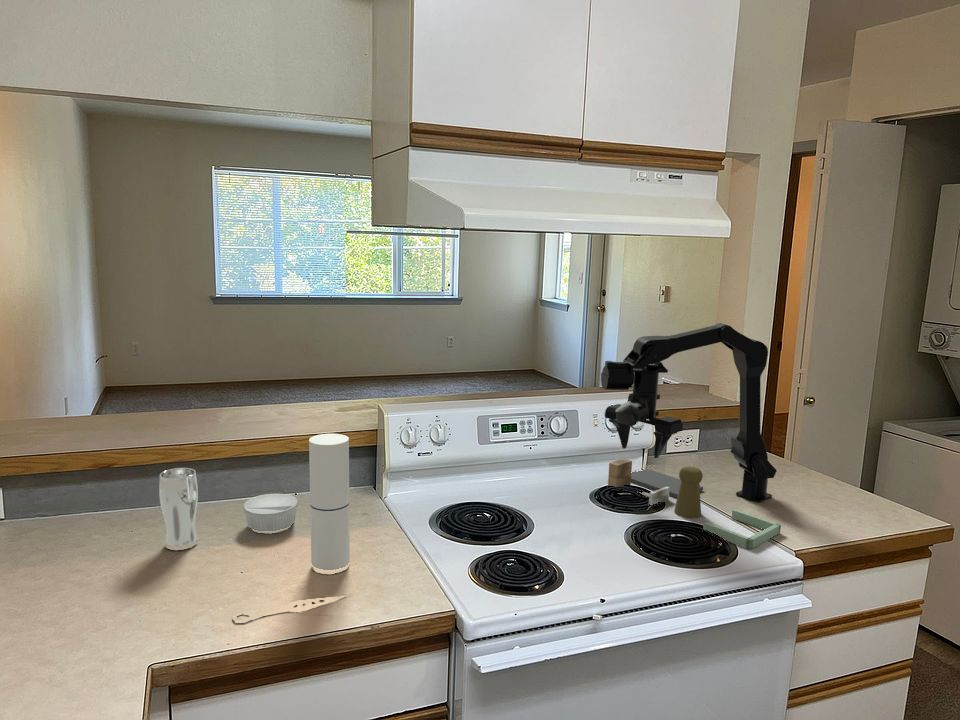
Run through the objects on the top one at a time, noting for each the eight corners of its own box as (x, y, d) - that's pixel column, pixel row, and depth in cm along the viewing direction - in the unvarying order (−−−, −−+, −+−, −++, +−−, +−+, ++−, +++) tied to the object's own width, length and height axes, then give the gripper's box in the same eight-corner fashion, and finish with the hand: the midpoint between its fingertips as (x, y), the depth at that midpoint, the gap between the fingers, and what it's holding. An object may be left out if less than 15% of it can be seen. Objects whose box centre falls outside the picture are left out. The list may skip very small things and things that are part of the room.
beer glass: (208, 541, 141) (204, 470, 139) (180, 555, 135) (176, 481, 132) (182, 534, 144) (179, 465, 141) (154, 547, 138) (150, 475, 135)
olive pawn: (695, 520, 159) (699, 474, 157) (670, 513, 162) (673, 468, 160) (704, 512, 163) (708, 467, 161) (680, 506, 167) (683, 462, 165)
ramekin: (257, 542, 142) (256, 517, 141) (235, 524, 150) (234, 501, 149) (307, 528, 149) (307, 504, 148) (284, 511, 158) (283, 489, 157)
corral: (733, 517, 161) (734, 509, 161) (780, 533, 153) (781, 524, 152) (702, 531, 153) (703, 523, 152) (749, 549, 144) (750, 540, 144)
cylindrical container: (316, 578, 128) (314, 446, 123) (307, 561, 134) (304, 436, 130) (354, 570, 131) (353, 442, 127) (343, 554, 137) (342, 431, 133)
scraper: (623, 483, 181) (625, 458, 180) (668, 499, 171) (670, 472, 169) (606, 489, 176) (608, 463, 175) (651, 506, 166) (653, 478, 165)
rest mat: (644, 471, 191) (644, 467, 191) (702, 490, 177) (703, 486, 177) (621, 478, 184) (621, 475, 184) (680, 499, 171) (680, 495, 171)
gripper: (592, 387, 168) (588, 449, 170) (659, 402, 154) (653, 470, 157) (620, 381, 175) (616, 441, 178) (686, 396, 162) (680, 460, 164)
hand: (640, 452), depth 169 cm, fingers open, 9 cm apart
